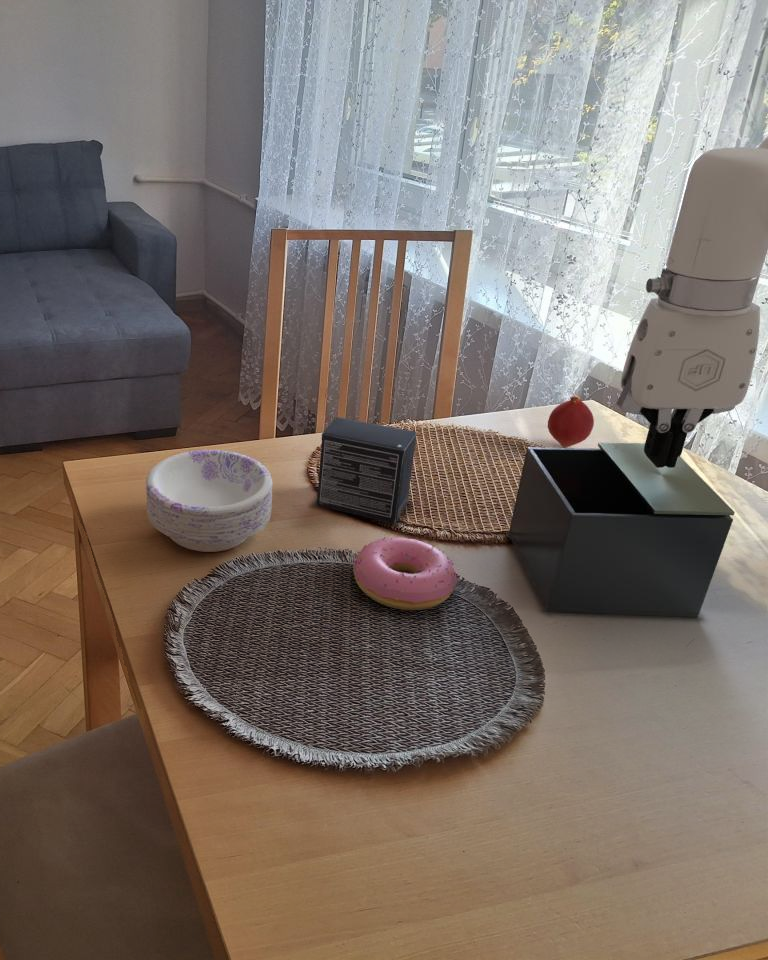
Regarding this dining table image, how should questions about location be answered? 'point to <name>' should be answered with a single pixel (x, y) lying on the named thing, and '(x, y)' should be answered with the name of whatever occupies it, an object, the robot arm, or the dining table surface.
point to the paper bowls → (209, 498)
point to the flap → (664, 483)
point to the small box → (365, 469)
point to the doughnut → (399, 590)
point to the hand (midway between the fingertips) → (659, 461)
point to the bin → (608, 540)
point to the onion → (571, 422)
